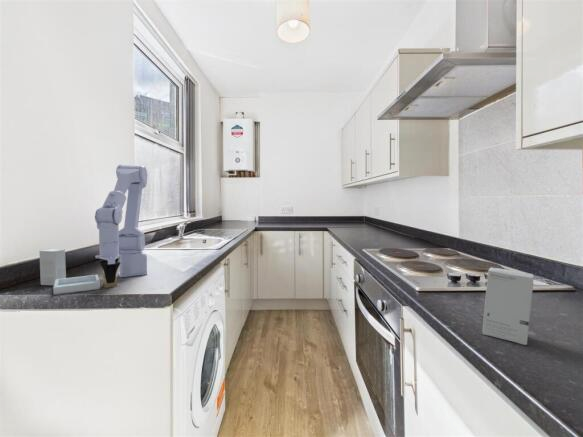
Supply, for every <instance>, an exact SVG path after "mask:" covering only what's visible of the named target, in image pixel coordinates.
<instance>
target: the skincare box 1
mask: <svg viewBox="0 0 583 437" xmlns="http://www.w3.org/2000/svg"><path fill="white" fill-rule="evenodd" d="M66 267H67V265H66V249H62V248H61V249H59V248H51V249H44V250H43V249H42V250H39V269H40V270H39V273H40V274H39V276H40V278H39V279H40V285H41V286H54V284H55V280H56V279H64V278H67V272H66V271H67V270H66Z"/></svg>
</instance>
